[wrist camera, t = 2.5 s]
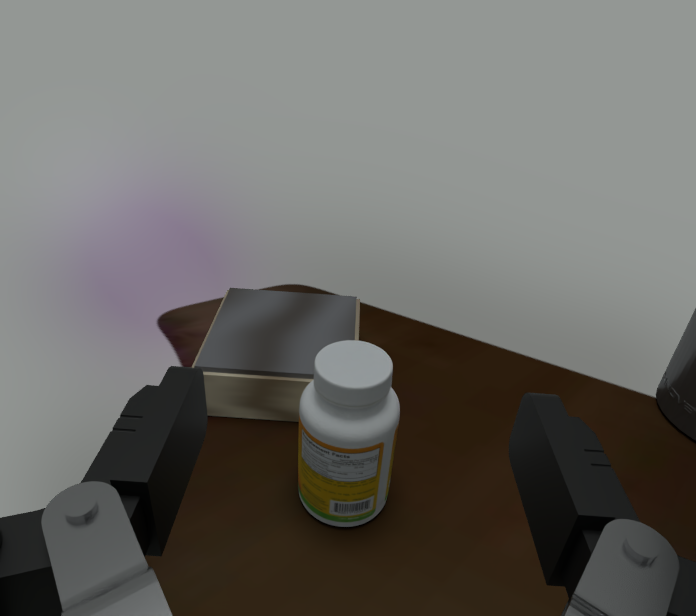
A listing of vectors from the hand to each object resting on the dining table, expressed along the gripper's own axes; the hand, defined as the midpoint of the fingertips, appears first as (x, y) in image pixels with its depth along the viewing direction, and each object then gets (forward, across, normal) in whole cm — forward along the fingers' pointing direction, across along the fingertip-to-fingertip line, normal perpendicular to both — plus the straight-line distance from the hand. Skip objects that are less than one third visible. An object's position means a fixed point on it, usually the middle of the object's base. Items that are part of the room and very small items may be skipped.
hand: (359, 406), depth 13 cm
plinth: (+22, +5, +17) cm, 28 cm away
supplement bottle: (+11, 0, +17) cm, 20 cm away
